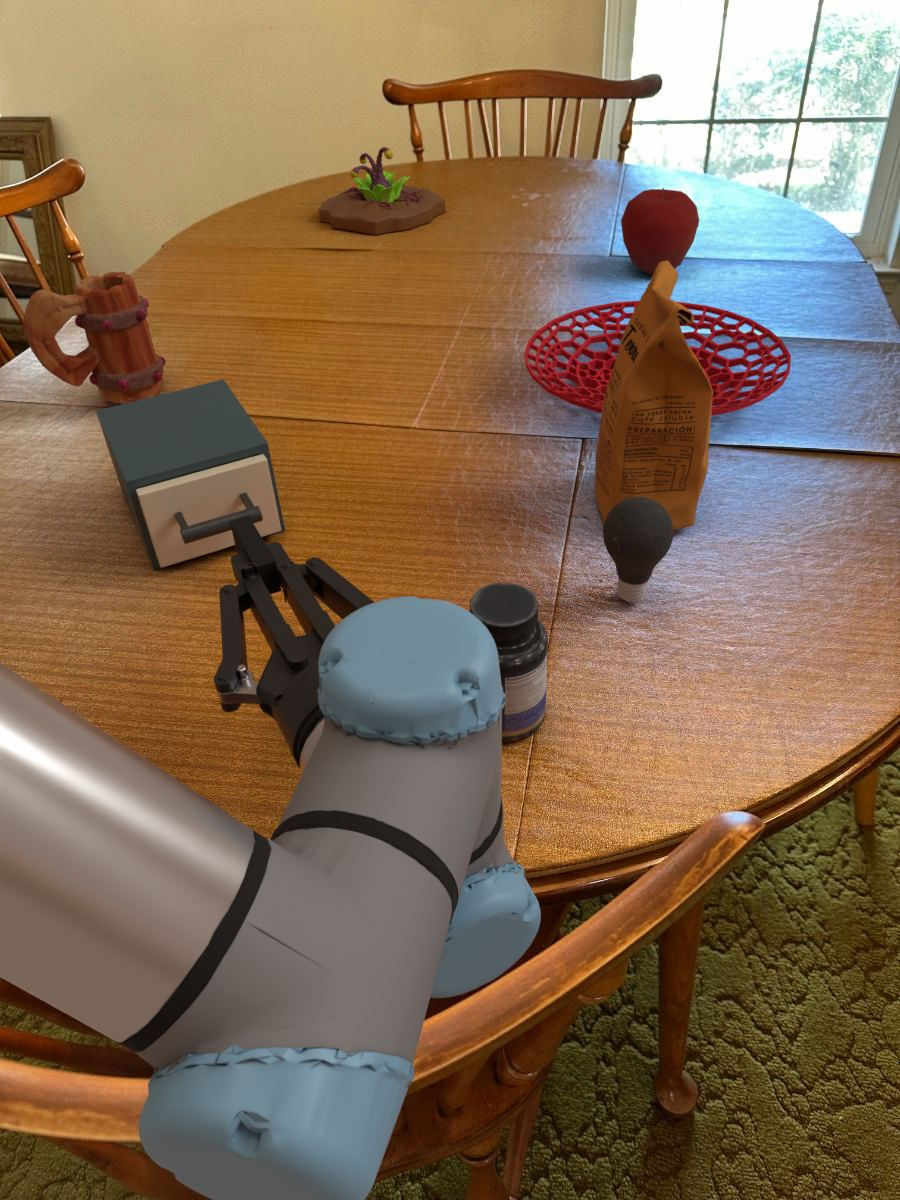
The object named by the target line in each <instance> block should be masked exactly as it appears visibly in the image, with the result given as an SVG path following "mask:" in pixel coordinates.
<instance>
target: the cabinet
mask: <svg viewBox="0 0 900 1200" xmlns="http://www.w3.org/2000/svg"><path fill="white" fill-rule="evenodd" d="M95 412H96V416H97V419H98V422H99V426H100V428H101V431H102V435H103V437H104V440H105V444H106V447H107V450H108V453H109V456H110V459H111V462H112V465H113V468H114V471H115V474H116V477H117V480H118V483H119V486H120V490H121V493H122V496H123V498H124V501H125V503H126V506H127V508H128V511H129V513H130V515H131V518H132V520H133V523H134V525H135V528H136V531H137V533H138V535H139V538H140V540H141V543H142V545H143V548H144V551H145V552H146V555H147V557H148V560H149V562H150V565H151V567H152V570H153V571H159V570H163V569H165V568H169V567H172V566H175V565H178V564H181V563H185V562H187V561H191V560H194V559H198V558H201V557H204V556H208V555H211V554H214V553H217V552H221V551H223V550H226V549H230V548H233V547H236V546H235V545H234V546H230V547H227V548H224V549H221V550H217V551H214V552H211V553H208V554H204V555H201V556H198V557H194V558H191V559H188V560H185V561H181V562H178V563H175V564H172V565H168V566H165V567H162V568H161V567H160V565H159V562H158V560H157V556H156V553H155V550H154V547H153V544H152V540H151V537H150V534H149V531H148V528H147V524H146V521H145V518H144V515H143V512H142V509H141V505H140V502H139V499H138V496H137V493H136V489H139V487H141V486H145V485H148V484H152V483H155V482H159V481H163V480H166V479H170V478H173V477H177V476H181V475H184V474H188V473H191V472H195V471H198V470H202V469H206V468H209V467H213V466H216V465H220V464H224V463H227V462H231V461H234V460H238V459H242V458H245V457H249V456H252V457H254V456H257V455H261V454H264V456H265V457H266V459H267V461H268V466H269V471H270V476H271V481H272V486H273V491H274V496H275V501H276V506H277V511H278V516H279V521H280V526H281V531H279V532H276V533H273V534H269V535H266V536H263V537H262V539H264V538H267V537H269V536H274V535H276V534H279V533H282V532H285V531H286V528H285V523H284V518H283V517H284V516H283V514H282V507H281V503H280V502H281V501H280V497H279V491H278V487H277V483H276V478H275V477H276V476H275V472H274V467H273V462H272V457H271V453H270V448H269V443H268V441H267V439H266V438H265V437H264V436H263V434H262V432H261V431H260V429H259V427H257V425H256V424H255V422H254V421H253V420H252V418H251V416H250V415H249V414H248V412H247V411H246V409H245V407H244V406H243V404H242V403H241V402H240V400H239V399H238V398H237V396H236V395H235V393H234V392H233V391H232V389H231V388H230V386H229V385H228V383H227V382H226V381H225V379H219V380H214V381H211V382H207V383H203V384H199V385H195V386H191V387H187V388H182V389H178V390H174V391H170V392H166V393H162V394H159V395H158V394H157V395H156V396H154V397H150V398H146V399H142V400H138V401H134V402H130V403H126V404H118V405H115V406H110V407H107V408H102V409H98V410H95Z"/></svg>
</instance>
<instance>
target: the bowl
mask: <svg viewBox="0 0 900 1200" xmlns="http://www.w3.org/2000/svg"><path fill="white" fill-rule="evenodd" d="M639 302H640V300H629V301H615V302H610V303H603V304H599V305H593V306H588V307H584V308H580V309H577V310H573V311H570V312H568V313H565V314H563V315H560V316H558V317H556V318H553V319H552V320H551V319H550V320H549V322H547V323H546V324H545V325H543V326H541V327H540V328H539V329H538V330H536V331H535V332H534V334H533V335H532V336H531V337H530V338H529V339H528V341H527V344H526V347H525V350H524V362H525V368H526V370H527V372H528V373H529V375H530V377H531V379H532V380H533V381H535V383H536V384H538V385H539V386H540V387H541V388H542V389H544V390H545V391H546V392H547V393H548V394H550V395H552V396H554V397H556V398H558V399H560V400H562V401H564V402H565V403H569V404H571V405H572V406H573V405H574V406H577V407H579V408H583V409H586V410H589V411H593V412H596V413H600V414H602V406H603V400H604V396H605V393H606V390H607V386H608V383H609V380H610V377H611V374H612V371H613V368H614V365H615V361H616V357H617V355H618V351H619V345H620V343H619V344H618V343H613V342H612V341H614V340H615V341H616V340H619V341H621V340H622V337H623V334H624V331H625V329H626V327H627V324H628V323H621V322H622V321H624V320H625V319H626V320H628V319H629V320H630V318H631V317H632V315H633V313H634V312H635V310H636V308H637V306H638V304H639ZM677 302H678V303H679V304H681V305H682V306H684V307H686V308H687V309H689V310H690V311H696V312H697V311H699V312H702V314H693V317H694V321H693V323H691V324H688V325H686V324H682V323H680V327H690V328H691V329H693V331H685V332H682V333H683V336H684V338H685V340H695V341H696V342H698V343H699V344H701V345H700V346H699V347H697V346H690V345H689V347H690V348H691V350H692V351H693V353H694V355H695V356H696V358H697V360H698V361H699V363H700V365H701V367H702V368H703V370H704V372H705V374H706V376H707V378H708V380H709V382H710V385H711V387H712V390H713V396H712V412H711V417H713V416H718V415H719V416H720V415H723V414H728V413H733V412H735V411H739V410H743V409H745V408H749V407H751V406H753V405H756V404H758V403H760V402H762V401H764V400H765V399H767V398H768V397H770V396H771V395H772V394H774V393H775V392H777V391H778V390H779V389H780V388H781V387H782V386H783V385H784V384H785V382H786V380H787V379H788V376H789V375H790V372H791V364H792V363H791V361H792V354H791V353H790V352H789V350H788V348H787V346H786V345H785V343H784V342H783V340H782V339H781V338H780V337H779V336H778V335H776V334H775V333H774V332H773V331H772V330H770V329H769V328H767V327H765V326H763V325H762V324H760V323H758V322H757V321H755V320H753V319H751V318H749V317H746V316H744V315H740V314H739V313H735V312H732V311H730V310H727V309H723V308H718V307H714V306H709V305H705V304H697V303H690V302H684V301H677ZM625 308H626V309H627V308H633V312H626V311H625V310H624V309H625ZM608 310H609V311H608ZM706 313H707V314H708V313H709V314H712V315H716V316H717V317H715V316H711V315H707V314H706ZM590 314H594V315H596V316H597V317H592V316H591V315H590ZM614 314H620V315H619V316H613V315H614ZM580 316H582V317H583V318H584V319H585V320H586V321H584V322H583V321H579V320H577V317H580ZM725 318H728V319H730V320H733V321H736V323H726V322H725V321H723V320H724V319H725ZM568 320H571V323H570V324H569V325H561V323H563V322H566V321H568ZM697 321H698V322H697ZM744 325H747V326H749V327H751V329H750V330H749V331H747V332H743V331H741V330H740V328H741V327H742V326H743V327H744ZM554 326H555V328H554V329H553V327H554ZM590 326H595V327H596V328H599V329H600V330H602V332H603V334H597V335H592V336H590V335H589V334H588V333H587V332H585V328H588V327H590ZM716 326H717V327H719V329H716V328H715V327H716ZM576 327H578V328H580V329H581V330H577V331H575V330H574V329H575V328H576ZM698 330H709V331H710V334H709V335H708V336H707V337H706V336H705V335H703V334H700V333H699V332H698ZM755 330H756V331H758V332H759V333H761V334H757V332H755ZM608 331H609V332H608ZM546 332H549V334H548V335H547V336H546V337H544V336H543V335H544V334H545V333H546ZM558 333H569V334H570V335H571V338H570V339H568V340H560V339H559V338H558V336H557V335H558ZM720 336H724V337H725V336H726V337H728V338H731V339H732V340H731V341H727V342H724V343H717V342H715V341H714V338H715V337H720ZM578 338H582V339H583V340H584V342H583V343H582V344H579V342H577V341H575V340H576V339H578ZM766 338H769V339H770V340H771V341H772V342H773V343H774V344H772V345H770V346H768V345H767V344H764V343H763V341H762V340H765V339H766ZM537 340H538V341H540V344H539V345H536V344H535V342H536V341H537ZM552 341H553V342H554V343H553V344H551V342H552ZM741 341H743V342H741ZM599 343H605V344H606V346H607V349H606V350H597V351H596V350H595V351H594V350H592V349H590V348H589V347H590V346H591V345H592V344H599ZM753 343H756V344H757V345H758V347H757V348H747V346H748V344H753ZM545 348H547V349H546V350H544V349H545ZM564 348H565V349H566V348H573V349H574V350H575V351H574V352H573V353H570V352H568V350H565V349H564ZM707 348H708V349H710V350H708V349H707ZM778 348H779V350H780V351H781V353H782V354H779V355H777V356H776V355H774V354H772V353H771V352H773V351H775V350H777V349H778ZM730 349H737V350H742V351H743V355H742V356H741V357H735V358H727V357H724V356H723V355H720V354H719V352H724V351H726V350H730ZM530 350H533V351H535V352H536V353H535V355H534V354H531V353H530ZM614 354H616V355H614ZM582 355H583V356H585V357H586V358H588V359H590V360H589V361H587V362H584V361H583V362H581V361H579V360H578V359H579V358H580V357H581V356H582ZM755 355H756V356H759V358H756V359H754V360H751V361H750V360H748V359H747V358H748V357H751V356H755ZM540 356H543V357H540ZM560 356H562V357H563V358H565V359H566V360H567V363H566V362H564V361H561V360H559V359H558V358H557V357H560ZM549 359H551V360H552V361H550V360H549ZM529 360H531V361H533V362H535V364H532V363H529ZM540 364H541V365H544V367H542V366H540ZM713 364H716V365H718V366H720V367H718V366H714V365H713ZM759 365H760V366H759ZM771 365H775V366H774V368H773V369H772V370H768V371H764V369H766V368H767V367H769V366H771ZM785 365H786V369H785V370H783V371H781V372H779V373H777V371H779V369H780V367H783V366H785ZM736 366H737V367H738V366H742V367H745V369H746V370H743V371H735V372H733V370H731V368H732V367H736ZM757 366H759V367H758V368H756V369H753V368H755V367H757ZM555 368H558V369H561V370H563V371H557V370H555ZM535 372H536V373H535ZM755 376H757V377H758V378H756V379H755V378H754V379H748V378H752V377H755ZM563 380H568V381H570V382H572V383H574V384H576V385H577V386H570V385H569V384H568V383H566V382H564V381H563ZM751 387H752V388H751ZM743 388H751V389H750V390H745V391H741V390H742V389H743Z"/></svg>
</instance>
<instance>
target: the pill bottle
mask: <svg viewBox="0 0 900 1200" xmlns="http://www.w3.org/2000/svg"><path fill="white" fill-rule="evenodd" d="M469 612H470V613H472V614H473V615H474V616H475V617H477V618H478V619H479V620H480V621H481V622H482V623H483V624H484V625H485V626H486V627H487V629H488V630H489V632H490V633H491V635H492V637H493V639H494V641H495V644H496V647H497V651H498V658H499V667H500V676H501V686H502V687H503V692H504V693H505V700H506V702H505V705H504V708H503V709H502V743H514V742H518V741H522V740H524V739H526V738H528V737H530V736H532V735H533V734H535V733H536V732H537V731H538V730H539V729H540V727H541V726H542V725H543V722H544V721H545V718H546V715H547V681H548V651H549V649H548V648H549V645H548V644H549V637H548V632H547V630H546V627H545V625H544V624H543V622H542V621H541V620H540V619H539V602H538V598H537V597H536V595H535V593H534V592H533V591H532V590H530V589H529V588H527V587H525V586H523V585H520V584H518V583H514V582H495V583H490V584H487V585H485V586H483V587H481V588H479V589H478V590H477V591H475V593H473V595H472V596H471V598H470V600H469Z"/></svg>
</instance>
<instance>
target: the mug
mask: <svg viewBox="0 0 900 1200" xmlns="http://www.w3.org/2000/svg"><path fill="white" fill-rule="evenodd" d="M137 289H138V288H137V286H136V284H135V279H134V278H133V277H132V275H131V274H130V273H127V274H126V271H119V272H118V271H108V272H105V274H103V275H101V276H100V275H90V276H88V277H85V278H83V279H82V280H80V282H79V283H78V284H76V286H75V293H72V294H66V295H62V294H58V293H56V292H52V291H51V290H48V289H39V290H36V291H35V292H34V293H33V294H31V295H30V297H29V299H28V302H27V304H26V307H25V310H24V314H23V332H24V336H25V339H26V341H27V344H28V345H29V347H30V349H31V352H32V353H33V355H34V357H35V358H36V359H37V360H38V362H39V363H40V365H41V366H42V367H43V368H44V369H46V371H48V372H49V373H50V374H52V375H53V376H55V377H56V378H58V379H59V380H61V381H63V382H65V383H66V384H69V385H71V386H74V387H80V386H82V385H83V384H84V382H85V381H86V379H87V378H88V377H89V382H90V383H91V384H92V385H93V386H96V387H97V388H98V389H97V390H98V394H99V396H100V398H101V399H103V400H105V401H108V402H111V403H114V404H118V405H122V404H126V403H130V402H134V401H138V400H142V399H146V398H150V397H154V396H158V394H159V393H160V391H161V390H162V389H163V387H164V380H163V377H164V373H165V372H164V366H165V365H166V361H167V360H166V359H165V357H163V356H159V355H158V354H157V353H156V350H155V346H154V343H153V339H152V336H151V335H152V334H151V330H150V325H149V323H148V320H147V317H148V315H149V314H148V308H149V306H150V303H149V299H147V298H145V297H143V296H142V295H139V292H138V290H137ZM72 317H75V319H74V324H75V325H76V327H78V328H80V329H83V330H84V333H85V337H86V340H87V344H88V345H87V347H86V348H84V349H83V350H82V351H80V352H78V353H77V354H75V355H73V354H66V353H65V352H63V350H62V348H61V347H60V345H59V343H58V341H57V340H56V335H57V334H58V333H59V332H60V331H61V330H62V329H63V328H64V327H65V325H66V324H67V323H68V322H69V320H71V318H72ZM89 375H90V376H89Z"/></svg>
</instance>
